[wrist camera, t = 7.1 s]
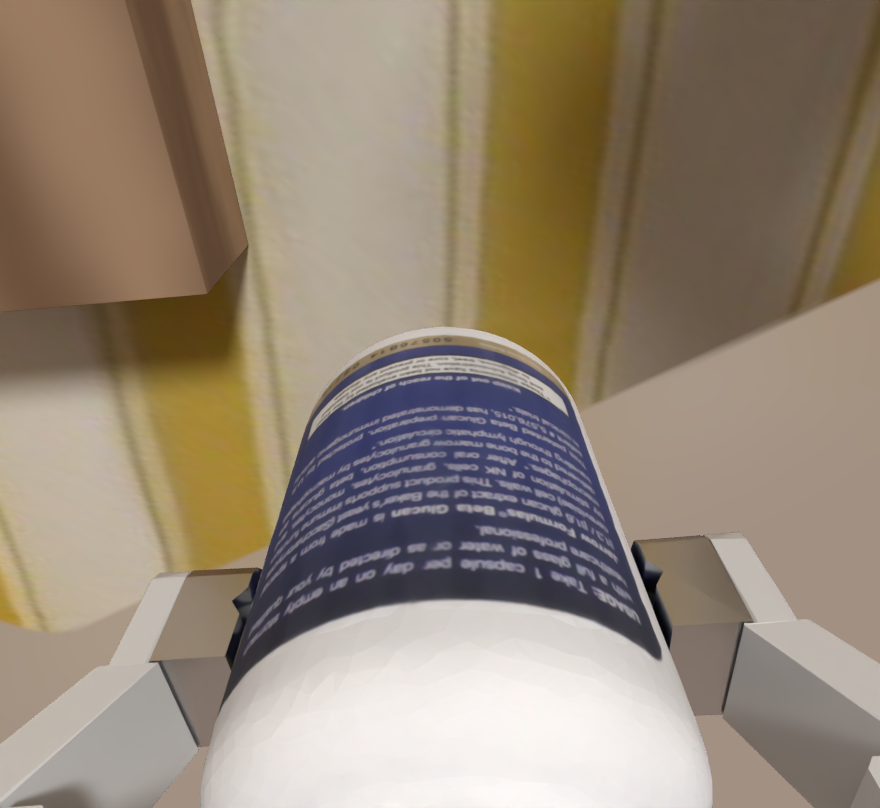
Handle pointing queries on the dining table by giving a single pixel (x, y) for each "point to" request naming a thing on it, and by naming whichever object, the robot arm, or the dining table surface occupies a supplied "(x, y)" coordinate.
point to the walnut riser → (109, 156)
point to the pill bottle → (451, 607)
